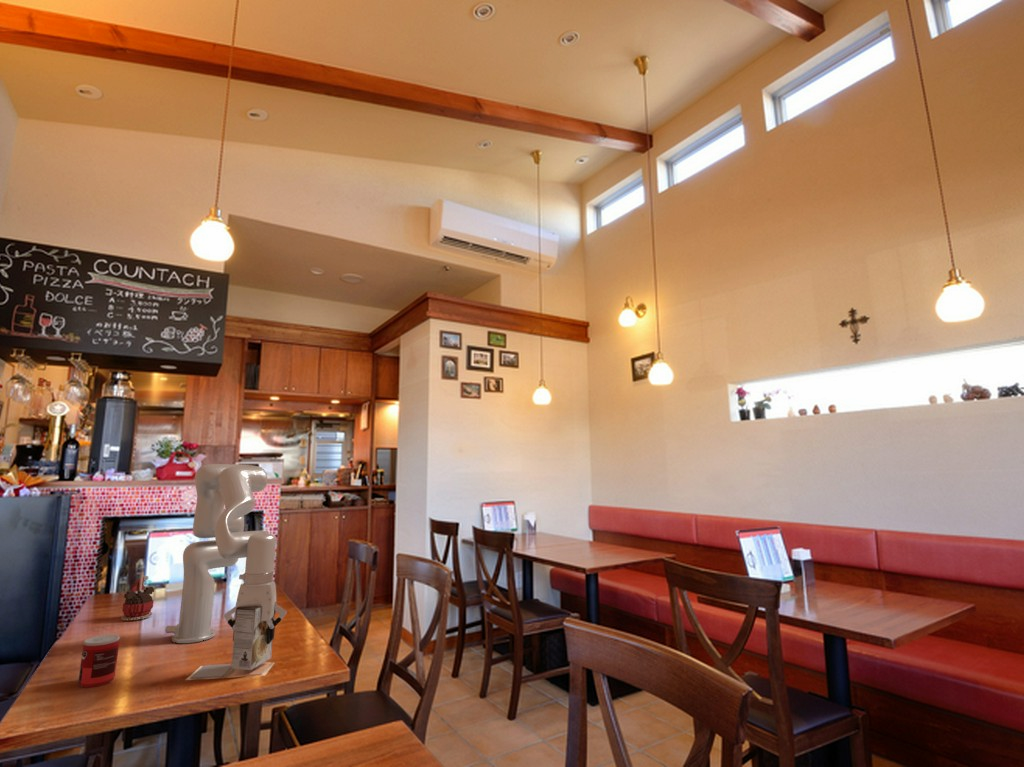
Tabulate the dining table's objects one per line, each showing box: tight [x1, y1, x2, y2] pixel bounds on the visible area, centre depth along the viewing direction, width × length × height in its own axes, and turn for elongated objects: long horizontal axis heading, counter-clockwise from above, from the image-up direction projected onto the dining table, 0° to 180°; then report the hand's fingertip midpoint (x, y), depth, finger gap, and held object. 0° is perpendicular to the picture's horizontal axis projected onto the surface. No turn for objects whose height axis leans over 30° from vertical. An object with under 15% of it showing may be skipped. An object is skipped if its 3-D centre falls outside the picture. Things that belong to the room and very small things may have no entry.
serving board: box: [185, 661, 276, 681], centre depth 145 cm, size 20×10×1 cm, turn 100°
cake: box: [120, 568, 155, 621], centre depth 200 cm, size 11×9×18 cm
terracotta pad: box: [230, 661, 271, 678], centre depth 146 cm, size 8×9×1 cm
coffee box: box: [230, 606, 275, 670], centre depth 147 cm, size 9×6×16 cm
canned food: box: [78, 633, 121, 688], centre depth 140 cm, size 8×8×11 cm
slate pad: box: [190, 663, 232, 680], centre depth 144 cm, size 8×9×1 cm
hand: (253, 642), depth 147 cm, fingers closed on coffee box, 7 cm apart
